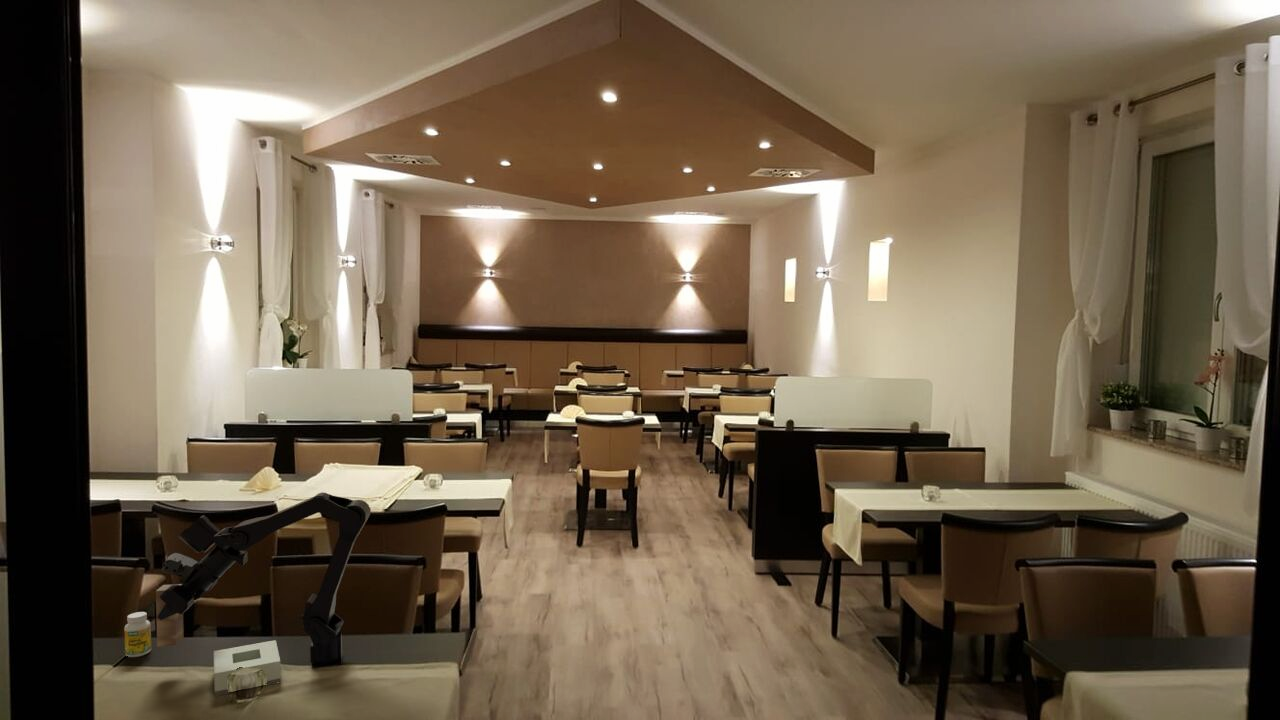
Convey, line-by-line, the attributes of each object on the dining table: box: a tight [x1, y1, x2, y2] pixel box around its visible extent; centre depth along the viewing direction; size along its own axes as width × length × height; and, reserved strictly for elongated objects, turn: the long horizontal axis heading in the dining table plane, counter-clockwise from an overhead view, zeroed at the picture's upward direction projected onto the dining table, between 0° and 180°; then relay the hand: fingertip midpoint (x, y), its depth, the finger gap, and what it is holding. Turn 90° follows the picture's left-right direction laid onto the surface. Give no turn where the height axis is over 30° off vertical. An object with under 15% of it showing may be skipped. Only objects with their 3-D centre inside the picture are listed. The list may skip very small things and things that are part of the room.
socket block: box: [213, 639, 282, 697], centre depth 175 cm, size 13×13×5 cm
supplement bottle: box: [123, 611, 152, 658], centre depth 187 cm, size 5×5×10 cm
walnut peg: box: [155, 583, 184, 647], centre depth 177 cm, size 4×4×13 cm
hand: (163, 614), depth 177 cm, fingers closed on walnut peg, 4 cm apart
